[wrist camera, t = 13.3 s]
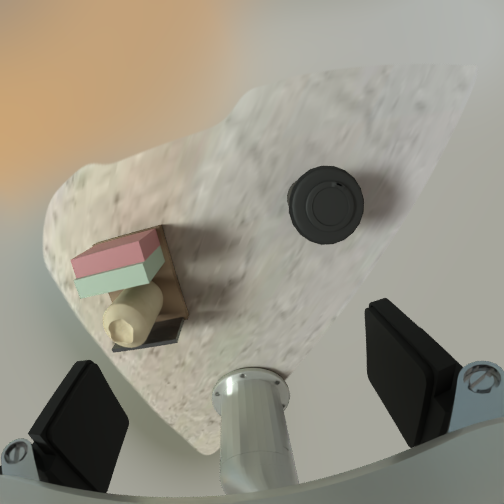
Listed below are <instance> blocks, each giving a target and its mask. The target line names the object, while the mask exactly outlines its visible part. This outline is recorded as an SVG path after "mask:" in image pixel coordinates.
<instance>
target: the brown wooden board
mask: <svg viewBox="0 0 504 504" xmlns="http://www.w3.org/2000/svg"><path fill="white" fill-rule="evenodd" d="M155 228H156V232H157V235H158V239H159V242H160V246H161V249H162V253H163V256H164V259H165V262H164V264H163V265H162V266H161V268H160V269H159V270H158V272H157V273H156V275H155V276H154V277H153V279H152V280H151V281H153V282H154V283H155V284H157V285H158V287H159V288H160V289H161V291H162V294H163V306H162V308H161V310H160V312H159V314H158V316H157V318H156V321H155V322H158V321H164V320H169V319H174V318H179V317H183V318H184V320H186V319H188V316H189V313H188V310H187V307H186V304H185V301H184V298H183V295H182V292H181V288H180V285H179V282H178V279H177V276H176V272H175V269H174V266H173V262H172V259H171V256H170V252H169V249H168V245H167V242H166V238H165V235H164V231H163V228H162V225H158V226H155V227H151V228H147V229H143V230H140V231H136V232H133V233H129V234H125V235H122V236H118V237H115V238H111V239H108V240H105V241H101V242H98V243H96V244H94V245H92V246H95V245H98V244H101V243H105V242H108V241H112V240H115V239H119V238H122V237H126V236H129V235H133V234H137V233H140V232H144V231H148V230H151V229H155ZM123 290H124V289H122V290H117V291H113V292H108V293H109V296H110V298H111V301H112V303H113V302H114V300H115V299H116V298H117V297H118V296H119V295H120V294H121V292H122V291H123Z"/></svg>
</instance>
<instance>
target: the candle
mask: <svg viewBox="0 0 504 504" xmlns="http://www.w3.org/2000/svg"><path fill="white" fill-rule="evenodd" d="M162 306H163V294H162V291H161V289H160V288H159V287H158V285H157V284H155V283H154V282H153V281H150V283H148V284H144V285H140V286H135V287H131V288H126V289H124V290H123V291H122V292H121V294H120V295H119V296H118V297H117V298H116V299H115V300H114V302H113V303H112V304H111V305H110V306H109V307H108V309H107V310H106V311H105V313H104V315H103V326H104V329H105V332H106V333H107V335H108V336H109V337H110V339H111V340H113V341H114V342H115V343H117V344H118V345H121V346H123V347H128V348H133V347H138V346H140V345H142V344H143V343H144V342H145V341H146V339H147V337H148V335H149V333H150V331H151V329H152V327H153V325H154V323H155V321H156V318H157V316H158V314H159V312H160V310H161V308H162Z"/></svg>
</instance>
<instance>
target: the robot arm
mask: <svg viewBox="0 0 504 504" xmlns="http://www.w3.org/2000/svg"><path fill="white" fill-rule="evenodd" d="M365 327H366V350H367V374H368V378H369V380H370V382H371V384H372V386H373V387H374V389H375V391H376V392H377V394H378V395H379V397H380V399H381V400H382V402H383V404H384V405H385V407H386V409H387V410H388V412H389V414H390V415H391V417H392V419H393V420H394V422H395V423H396V425H397V427H398V429H399V431H400V432H401V434H402V436H403V437H404V439H405V441H406V442H407V444H408V446H409V447H410V448H411V449H409V450H406V451H404V452H401V453H399V454H396V455H394V456H391V457H389V458H386V459H383V460H380V461H377V462H375V463H372V464H369V465H366V466H363V467H360V468H357V469H353V470H350V471H347V472H344V473H340V474H337V475H334V476H330V477H326V478H322V479H318V480H314V481H310V482H306V483H301V484H299V481H298V476H297V472H296V467H295V463H294V458H293V453H292V448H291V444H290V439H289V434H288V430H287V425H286V421H285V416H284V410H285V409H286V407H287V405H288V403H289V399H290V394H289V389H288V386H287V384H286V382H285V381H284V380H283V379H282V377H280V376H279V375H277V374H276V373H274V372H272V371H269V370H266V369H261V368H244V369H239V370H236V371H232V372H230V373H228V374H226V375H225V376H224V377H222V378H221V379H220V380H219V381H218V382H217V383H216V385H215V387H214V388H213V392H212V404H213V407H214V409H215V410H216V412H217V413H218V414H219V415H220V416H221V439H220V482H221V486H222V488H223V490H224V492H225V493H226V495H222V496H207V497H174V498H173V497H142V496H128V495H116V494H108V493H106V492H107V491H108V487H109V484H110V481H111V478H112V474H113V471H114V468H115V465H116V462H117V459H118V456H119V453H120V450H121V446H122V444H123V441H124V438H125V435H126V432H127V429H128V426H129V420H128V417H127V415H126V414H125V412H124V410H123V409H122V407H121V405H120V404H119V402H118V400H117V399H116V397H115V395H114V394H113V392H112V390H111V388H110V387H109V385H108V383H107V381H106V379H105V378H104V376H103V374H102V372H101V370H100V368H99V367H98V365H97V364H95V363H94V362H92V361H91V360H85V361H77V362H76V363H75V364H74V365H73V367H72V368H71V370H70V371H69V373H68V374H67V375H66V377H65V378H64V380H63V381H62V383H61V384H60V385H59V387H58V388H57V390H56V391H55V393H54V394H53V396H52V397H51V399H50V400H49V402H48V403H47V405H46V406H45V408H44V409H43V411H42V412H41V414H40V415H39V417H38V418H37V420H36V421H35V423H34V425H33V426H32V428H31V429H30V431H29V433H28V434H29V436H30V437H31V438H32V439H33V441H34V443H33V444H31V443H30V442H29V441H28V440H27V439H24V438H21V439H16V440H14V441H12V442H10V443H9V444H8V445H7V446H6V447H5V448H4V450H3V452H2V455H1V464H2V465H1V466H0V504H504V371H503V370H502V368H501V367H499V366H498V365H497V364H495V363H492V362H489V361H476V362H473V363H470V364H468V365H466V366H465V367H462V366H461V365H460V364H459V363H458V362H457V361H456V360H455V359H454V358H453V357H452V356H451V355H450V354H449V353H448V352H446V351H445V350H444V349H443V348H442V347H441V346H440V345H439V344H438V343H437V342H436V341H435V340H434V339H433V338H432V337H430V336H429V335H428V334H427V333H426V332H425V331H424V330H423V329H422V328H420V327H418V326H417V325H416V324H415V323H414V322H413V321H412V320H410V318H408V317H407V316H406V315H405V314H404V313H403V312H402V311H401V310H399V309H398V308H397V307H396V306H395V305H394V304H393V303H392V302H391V301H389V300H388V299H387V298H383V299H380V300H377V301H374V302H371V303H370V304H369V308H366V309H365Z"/></svg>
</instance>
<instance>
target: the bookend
mask: <svg viewBox="0 0 504 504" xmlns="http://www.w3.org/2000/svg"><path fill="white" fill-rule="evenodd" d="M183 322H184V318H183V317H179V318H174V319H169V320H164V321H158V322H155V323H154V325H153V327H152V329H151V331H150V333H149V335H148V337H147V339H146V341H145V342H144V343H143V344H142V345H140V346H138V347H133V348H128V347H123V346H121V345H118V344H117V343H115V345H114V346H113V348H112V351H113V352H121V351H128V350H135V349H142V348H148V347H155V346H161V345H167V344H173V343H177V342H178V338H179V335H180V332H181V328H182V325H183Z"/></svg>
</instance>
